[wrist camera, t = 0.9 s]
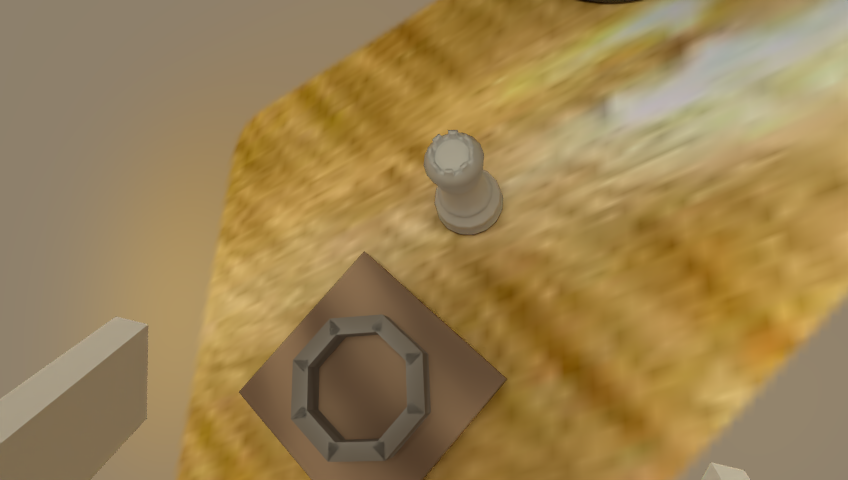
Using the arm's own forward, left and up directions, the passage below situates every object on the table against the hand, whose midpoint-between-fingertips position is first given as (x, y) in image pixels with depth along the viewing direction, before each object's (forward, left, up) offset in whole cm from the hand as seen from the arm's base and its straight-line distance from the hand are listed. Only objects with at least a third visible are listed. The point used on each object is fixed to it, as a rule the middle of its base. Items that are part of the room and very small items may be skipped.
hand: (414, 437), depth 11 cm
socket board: (+4, -6, -19) cm, 20 cm away
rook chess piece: (-9, -9, -19) cm, 23 cm away
